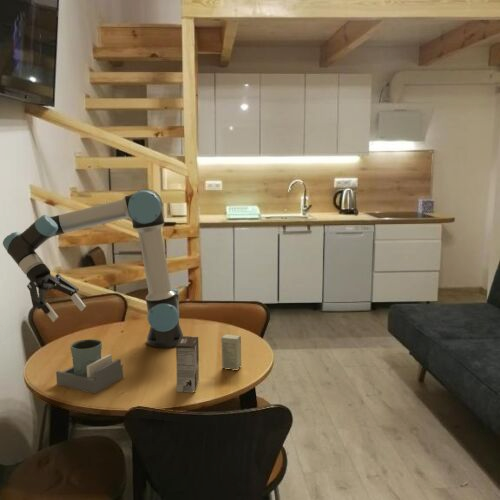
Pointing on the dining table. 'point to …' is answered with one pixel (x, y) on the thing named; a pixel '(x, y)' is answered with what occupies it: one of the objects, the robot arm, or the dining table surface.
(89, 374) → the pusher
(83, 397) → the dining table surface
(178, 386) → the coffee box
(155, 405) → the dining table surface
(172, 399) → the dining table surface
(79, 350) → the grey-green cup
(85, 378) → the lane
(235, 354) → the skincare box
